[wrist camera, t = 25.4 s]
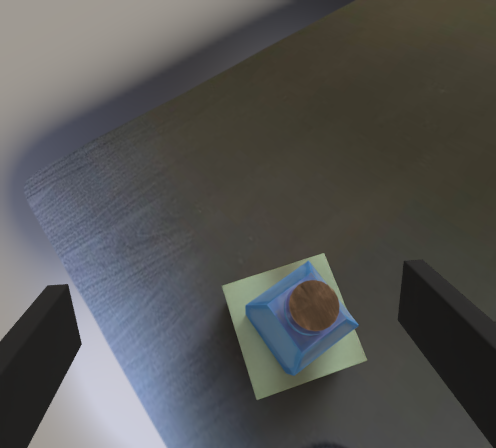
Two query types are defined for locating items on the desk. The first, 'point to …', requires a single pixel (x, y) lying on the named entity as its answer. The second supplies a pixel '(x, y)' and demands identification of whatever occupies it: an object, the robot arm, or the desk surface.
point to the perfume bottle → (299, 318)
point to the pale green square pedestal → (257, 352)
